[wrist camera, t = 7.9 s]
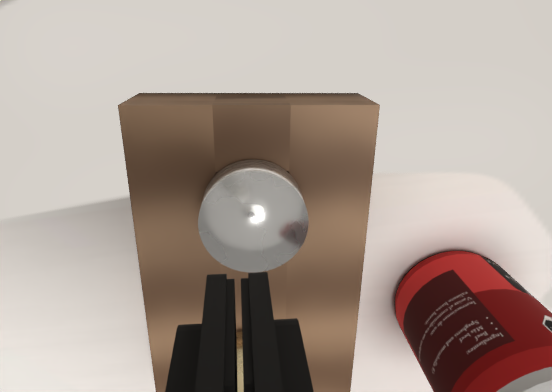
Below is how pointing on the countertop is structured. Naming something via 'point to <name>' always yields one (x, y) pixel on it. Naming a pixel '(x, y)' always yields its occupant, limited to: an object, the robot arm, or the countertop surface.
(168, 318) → the button block
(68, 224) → the countertop surface
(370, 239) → the countertop surface
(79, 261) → the countertop surface
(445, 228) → the countertop surface
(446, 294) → the canned food
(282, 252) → the steel button
